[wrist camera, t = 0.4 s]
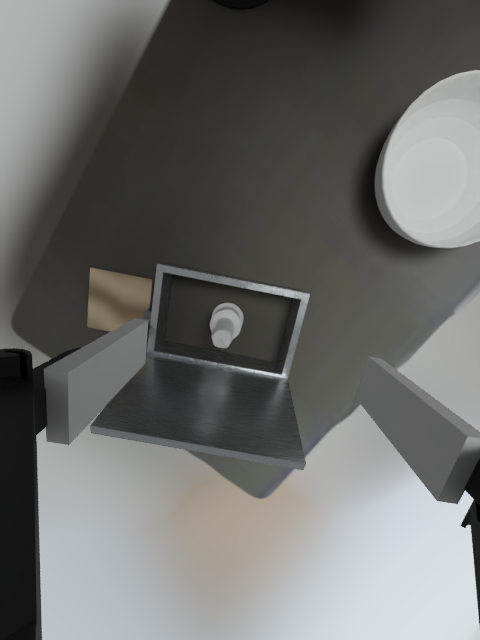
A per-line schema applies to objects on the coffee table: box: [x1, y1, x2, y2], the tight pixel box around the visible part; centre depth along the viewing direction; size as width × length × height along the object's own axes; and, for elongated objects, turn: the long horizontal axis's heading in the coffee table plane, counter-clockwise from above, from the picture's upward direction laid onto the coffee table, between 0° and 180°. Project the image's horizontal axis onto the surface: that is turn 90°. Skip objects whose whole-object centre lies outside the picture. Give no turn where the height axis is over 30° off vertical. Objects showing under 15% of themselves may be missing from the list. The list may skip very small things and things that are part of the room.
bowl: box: [374, 70, 480, 248], centre depth 33 cm, size 20×20×6 cm
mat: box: [87, 268, 153, 331], centre depth 40 cm, size 10×10×1 cm
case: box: [91, 264, 310, 470], centre depth 32 cm, size 17×23×19 cm
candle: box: [210, 303, 243, 348], centre depth 35 cm, size 5×5×12 cm
